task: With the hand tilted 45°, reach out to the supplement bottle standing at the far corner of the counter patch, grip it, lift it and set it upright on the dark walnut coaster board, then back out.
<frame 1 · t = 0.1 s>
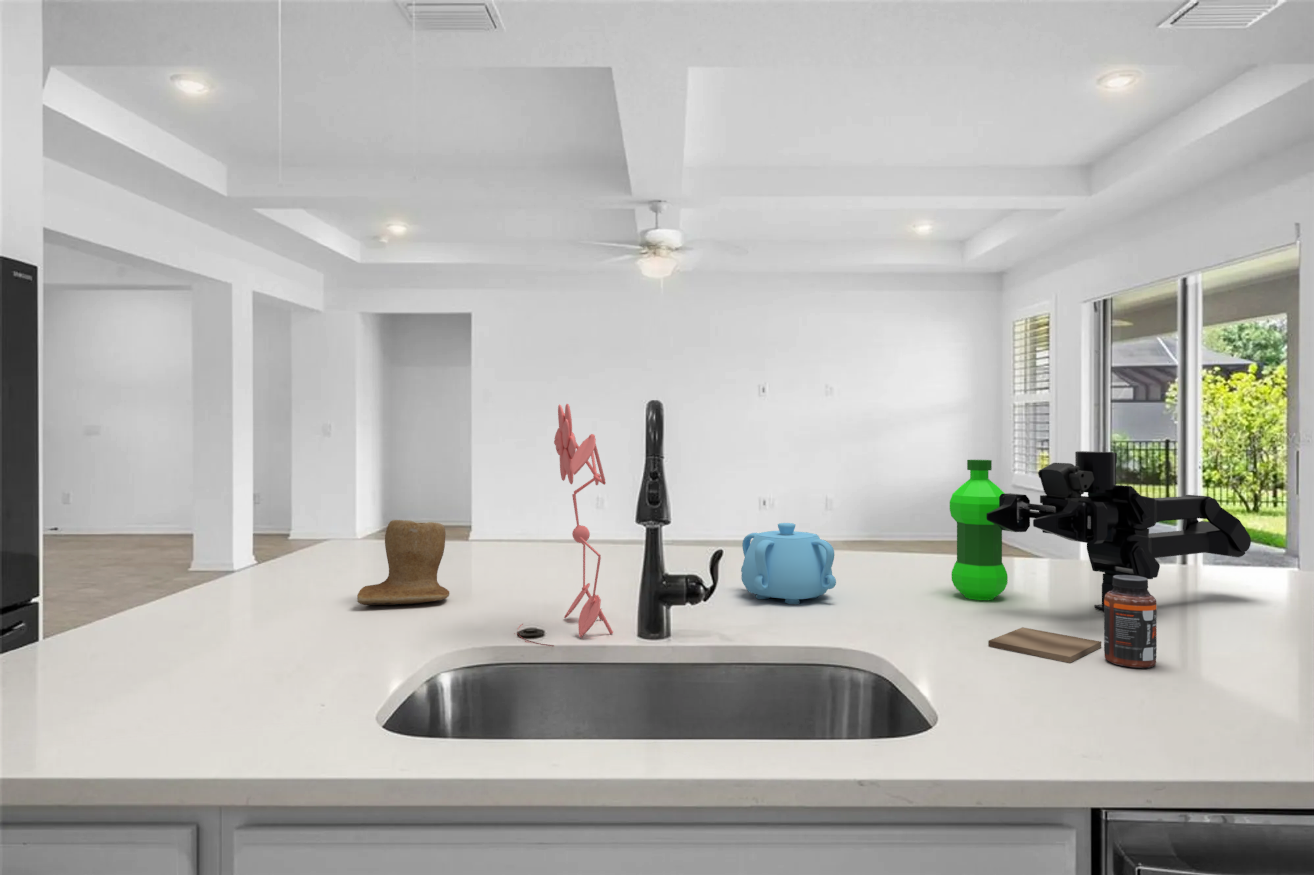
hand: (1009, 519, 124), 17 cm above the worktop, tool horizontal, fingers open, 9 cm apart
plastic bottle: (979, 598, 146), on the worktop
brown chair seat: (406, 603, 144), on the worktop
decorative pot: (786, 598, 147), on the worktop
supplement bottle: (1129, 664, 105), on the worktop
figurine: (564, 630, 124), on the worktop
walnut coaster board: (1044, 646, 113), on the worktop
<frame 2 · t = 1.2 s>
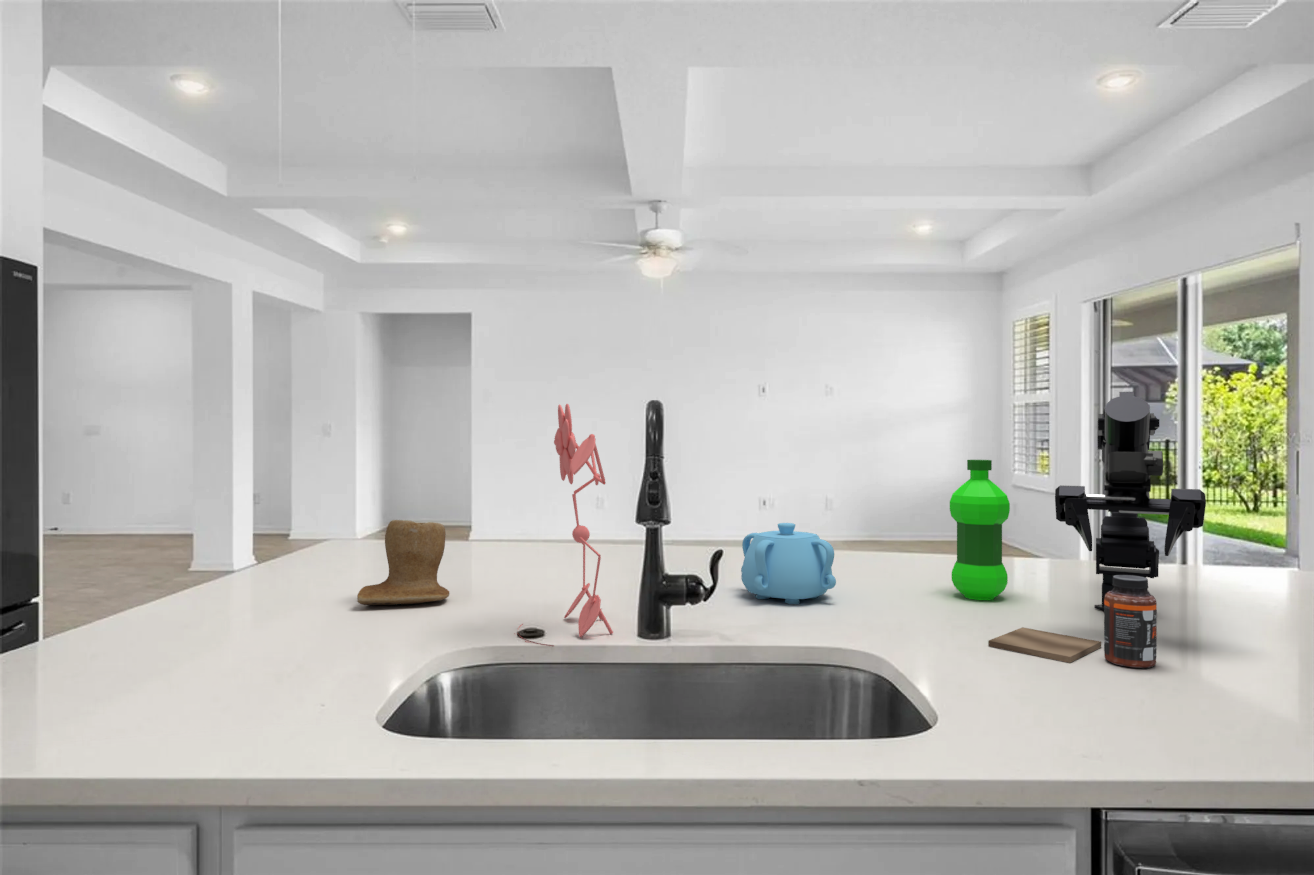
hand: (1127, 551, 112), 14 cm above the worktop, tool tilted 45°, fingers open, 9 cm apart
nothing on the worktop moved.
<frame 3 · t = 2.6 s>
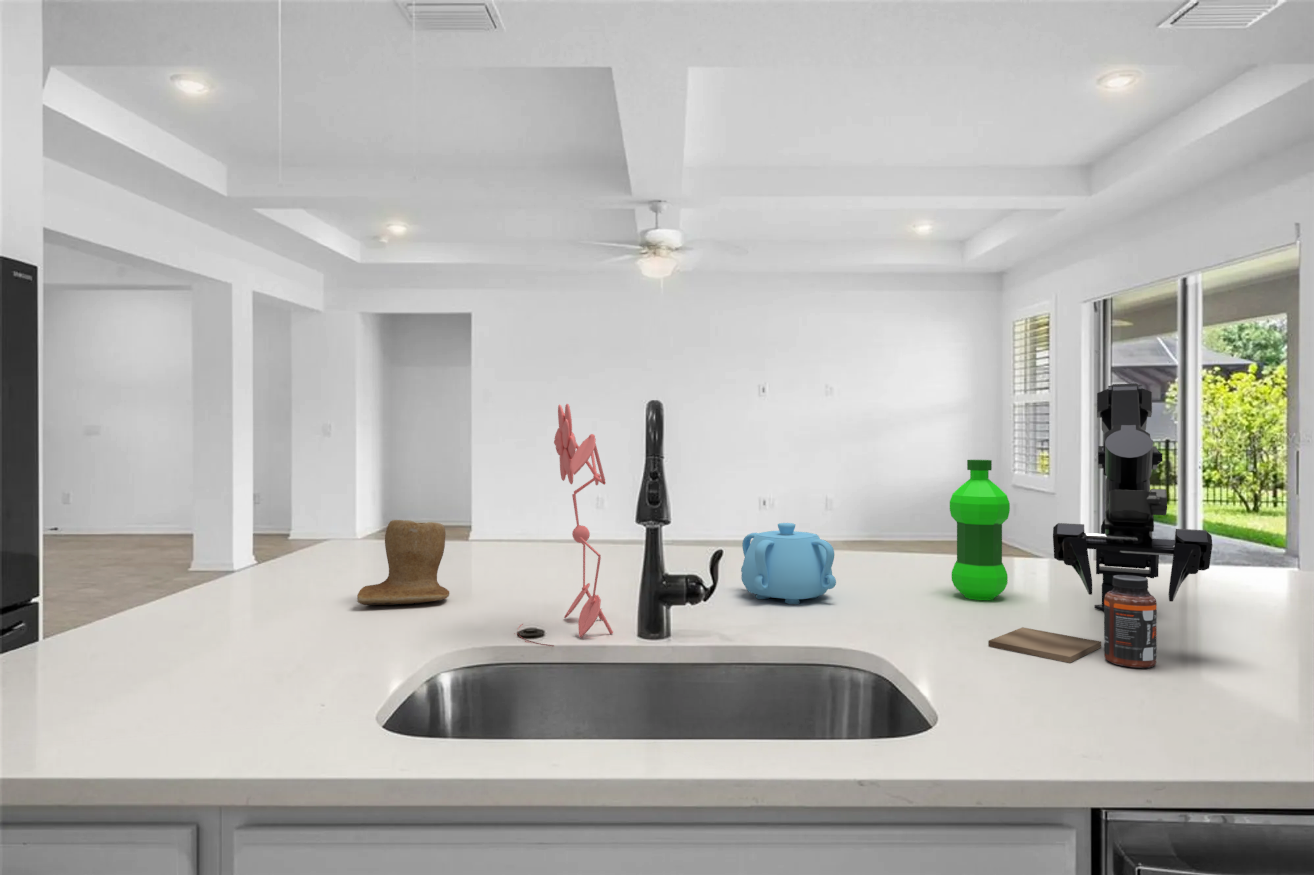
hand: (1130, 596, 106), 9 cm above the worktop, tool tilted 45°, fingers open, 9 cm apart
nothing on the worktop moved.
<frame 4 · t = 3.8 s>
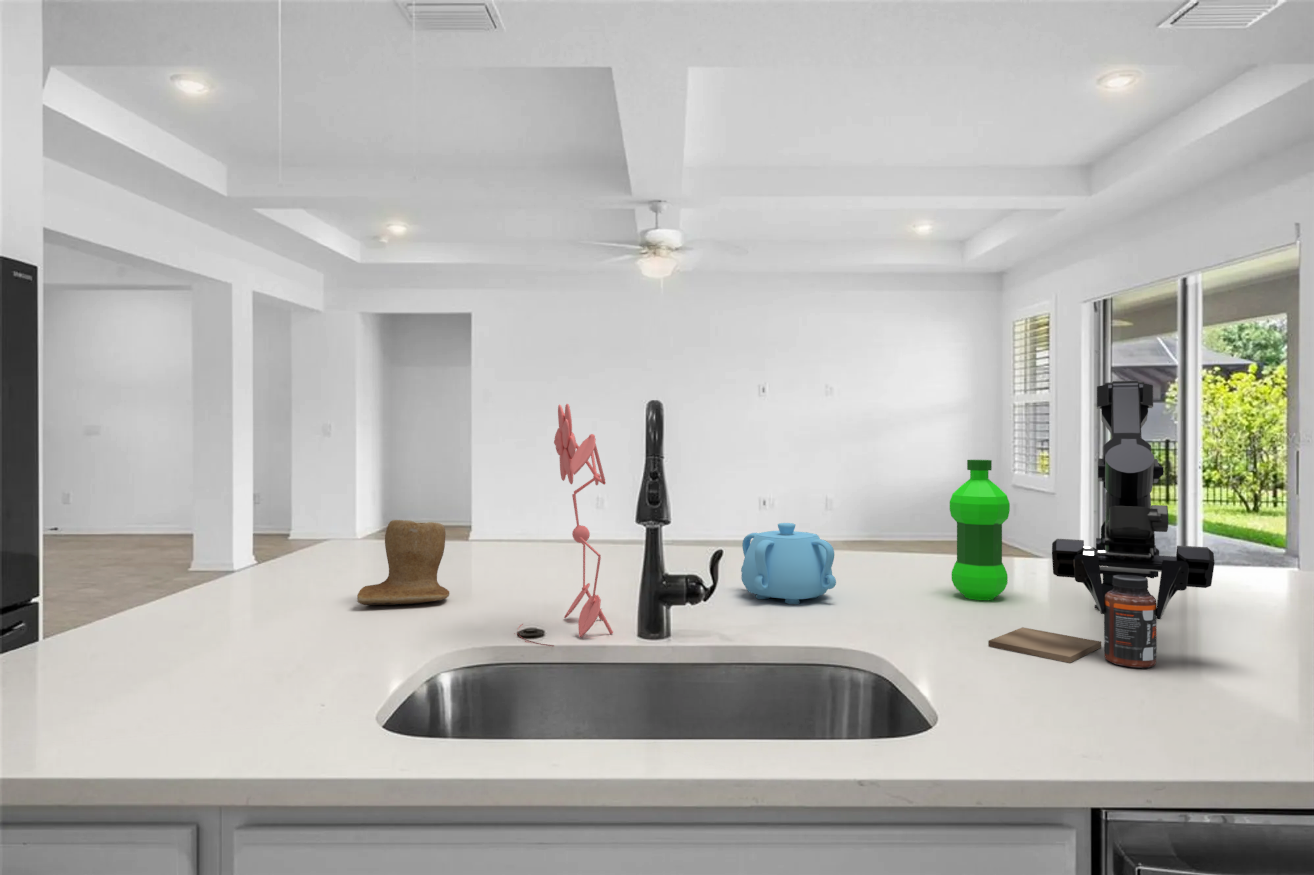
hand: (1130, 614, 104), 7 cm above the worktop, tool tilted 45°, fingers closed on supplement bottle, 6 cm apart
supplement bottle: (1129, 664, 105), on the worktop, touching gripper
everything else where it was.
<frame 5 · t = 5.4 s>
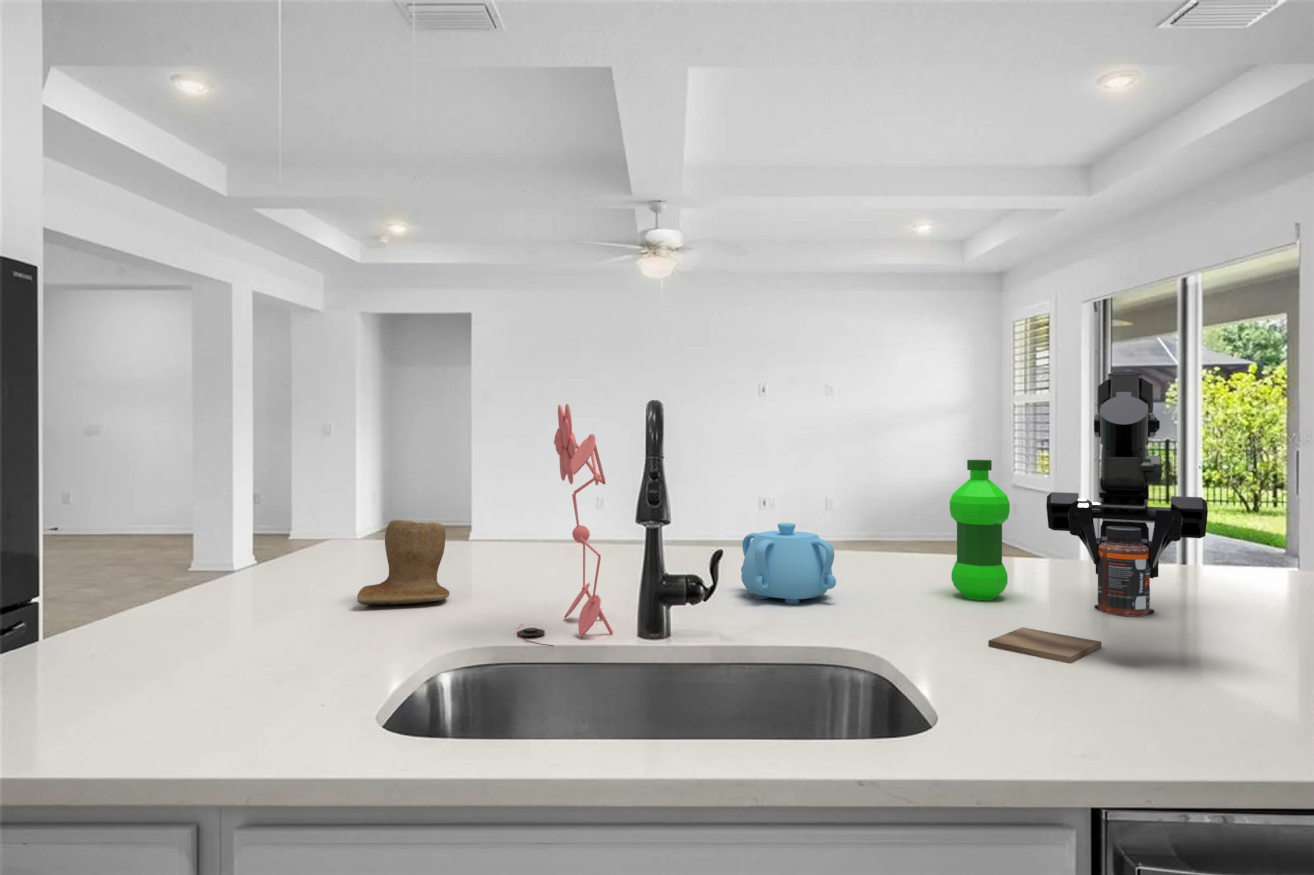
hand: (1123, 564, 104), 13 cm above the worktop, tool tilted 45°, fingers closed on supplement bottle, 6 cm apart
supplement bottle: (1123, 614, 106), point 6 cm above the worktop, touching gripper
everything else where it was.
when the fingers open (9 cm above the worktop, at t = 7.2 s): supplement bottle drops 1 cm, resting on walnut coaster board.
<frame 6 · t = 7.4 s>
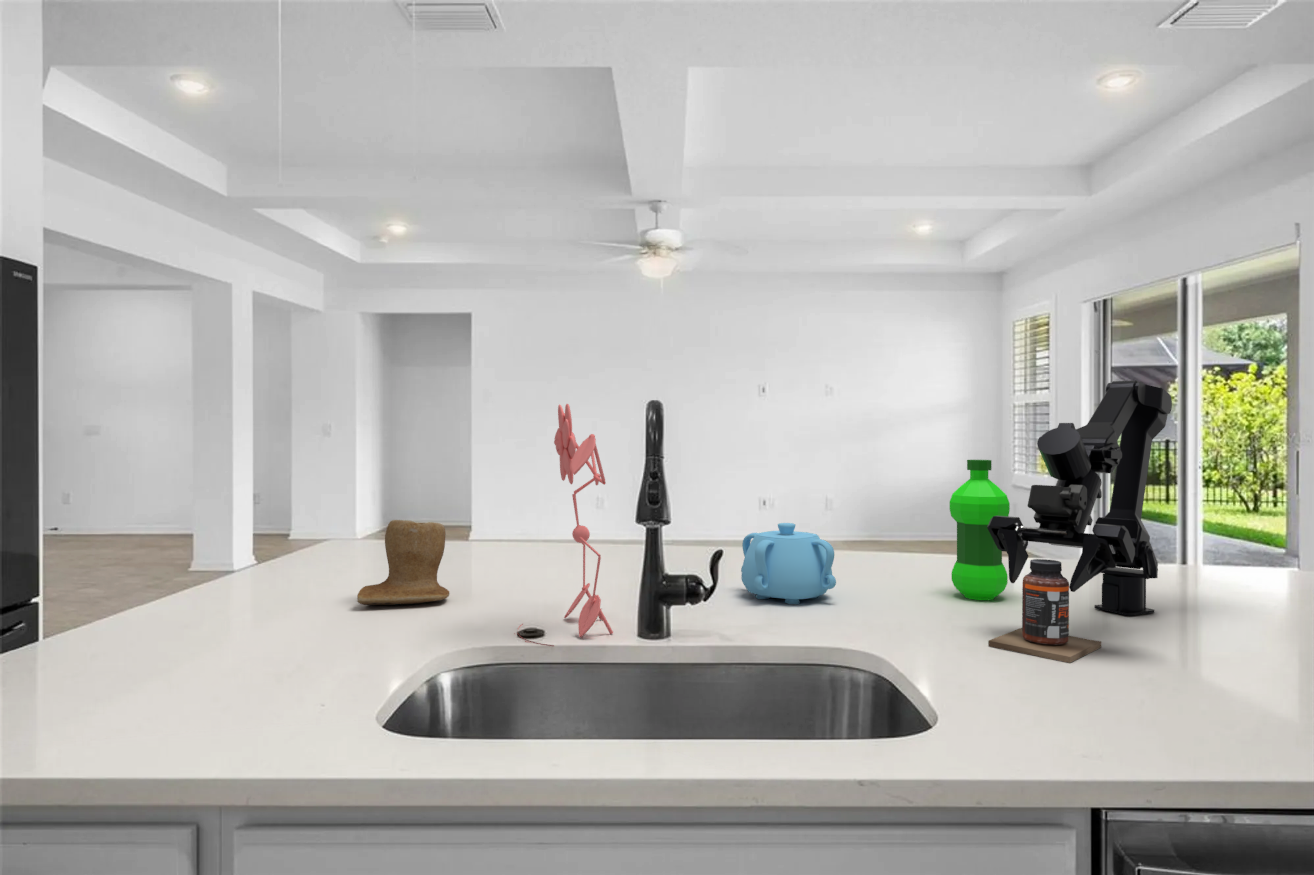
hand: (1040, 585, 112), 9 cm above the worktop, tool tilted 45°, fingers open, 8 cm apart
supplement bottle: (1045, 642, 113), point 1 cm above the worktop, touching walnut coaster board
everything else where it was.
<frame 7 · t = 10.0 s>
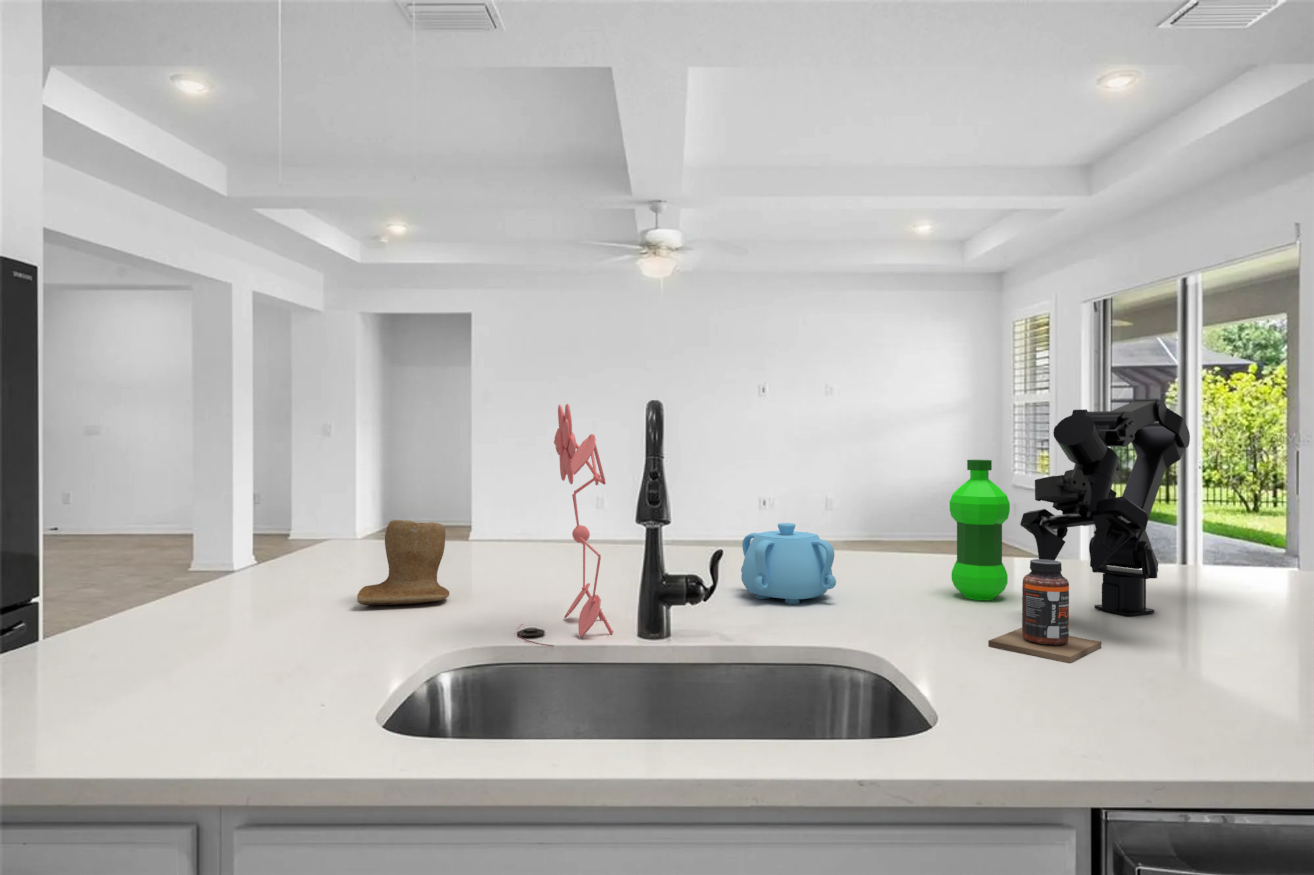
hand: (1067, 569, 120), 10 cm above the worktop, tool tilted 35°, fingers open, 9 cm apart
nothing on the worktop moved.
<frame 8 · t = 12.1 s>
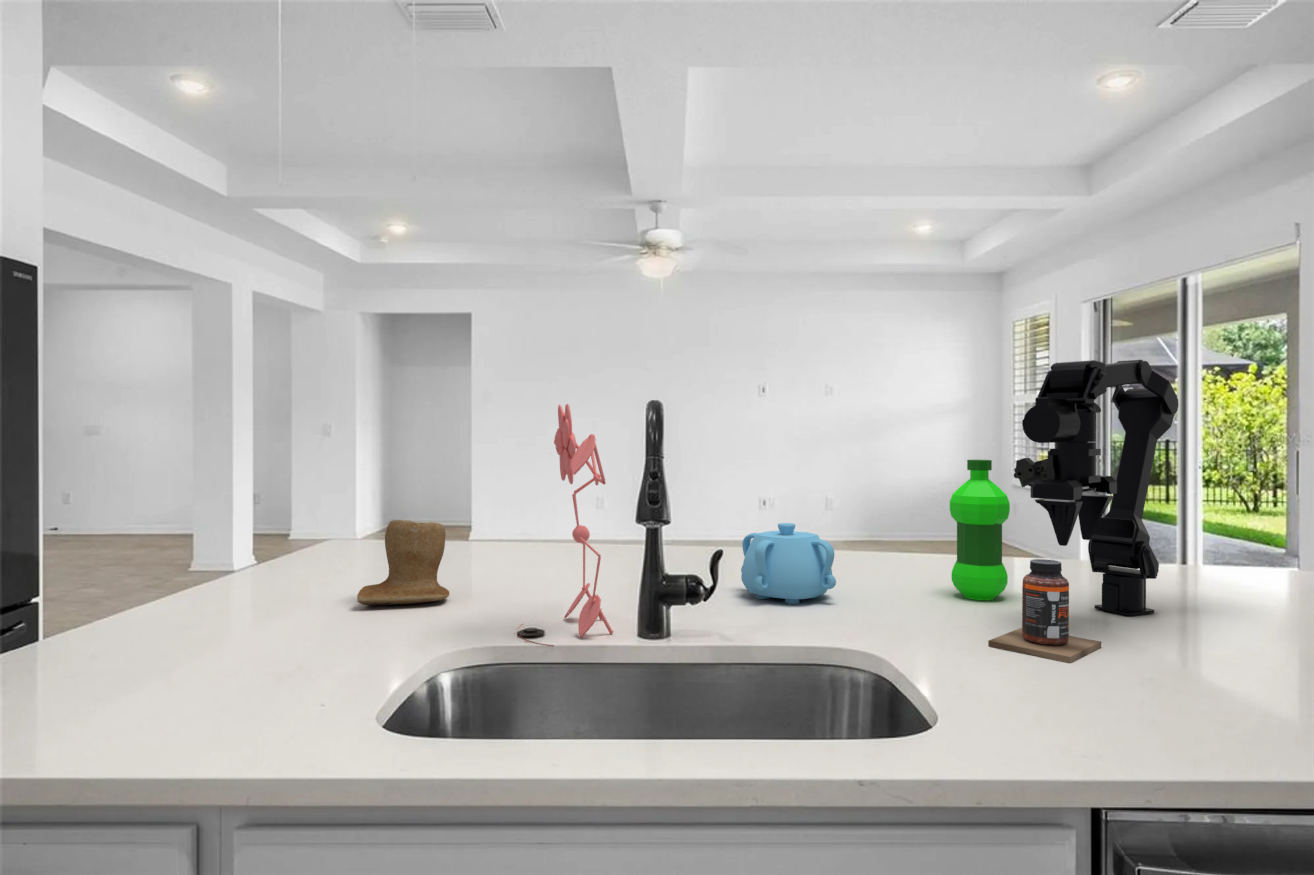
hand: (1074, 542, 124), 13 cm above the worktop, tool pointing down, fingers open, 9 cm apart
nothing on the worktop moved.
at the end: supplement bottle inside the target area on the walnut coaster board (0.2 cm from its centre), point 0.6 cm above the walnut coaster board's base; supplement bottle tilted 0°; the gripper is holding nothing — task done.
